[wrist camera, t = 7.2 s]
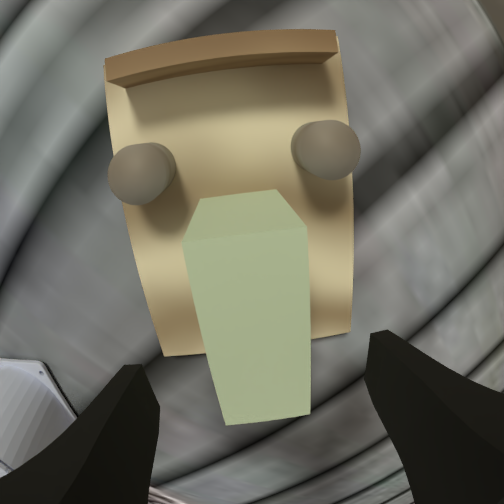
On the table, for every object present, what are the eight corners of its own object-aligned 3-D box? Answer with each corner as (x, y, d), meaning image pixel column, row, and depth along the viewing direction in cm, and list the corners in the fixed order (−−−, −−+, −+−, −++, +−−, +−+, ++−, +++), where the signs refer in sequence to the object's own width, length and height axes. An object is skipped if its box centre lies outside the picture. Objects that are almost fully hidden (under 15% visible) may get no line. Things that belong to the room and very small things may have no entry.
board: (344, 321, 19) (364, 357, 15) (167, 344, 18) (157, 384, 15) (330, 42, 13) (356, 21, 9) (111, 69, 13) (82, 55, 9)
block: (287, 333, 17) (310, 414, 12) (225, 341, 17) (226, 425, 12) (276, 189, 14) (306, 226, 9) (200, 198, 14) (181, 242, 9)
